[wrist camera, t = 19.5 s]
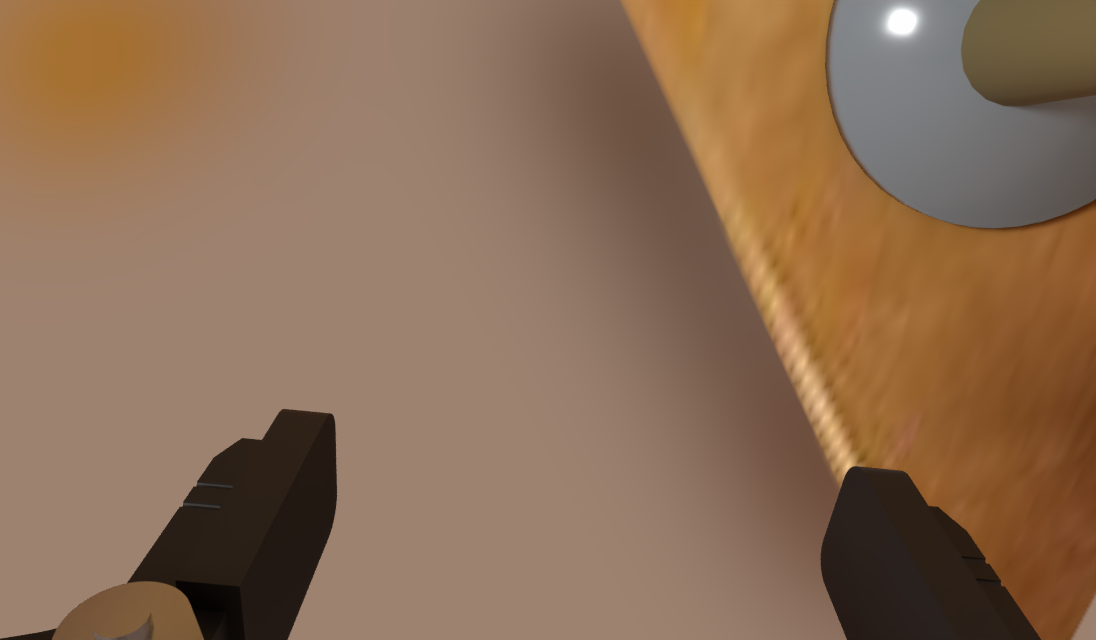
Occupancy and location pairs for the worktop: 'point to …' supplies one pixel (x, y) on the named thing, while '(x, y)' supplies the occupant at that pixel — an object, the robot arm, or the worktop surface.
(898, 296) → the worktop surface
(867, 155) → the slate plate
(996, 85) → the cork
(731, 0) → the worktop surface
